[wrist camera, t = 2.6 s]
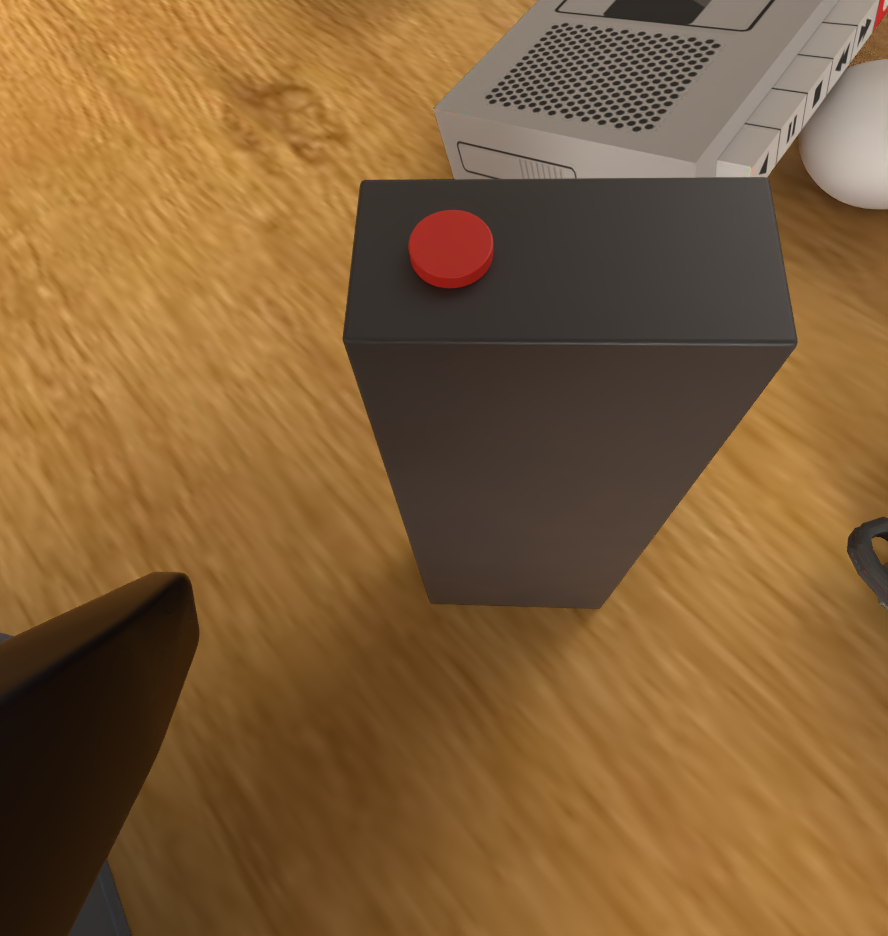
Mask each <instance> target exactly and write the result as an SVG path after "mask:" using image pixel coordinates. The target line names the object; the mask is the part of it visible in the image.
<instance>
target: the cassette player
mask: <svg viewBox="0 0 888 936" xmlns="http://www.w3.org/2000/svg"><path fill="white" fill-rule="evenodd" d="M887 12H888V0H538V2H537V3H536V4H535V5H534V6H533V7H532V8H531V9H530V10H529V11H528V12H527V13H526V14H525V15H524V16H523V17H522V18H521V19H520V20H519V21H518V22H517V23H516V24H515V25H514V26H513V27H512V28H511V29H510V30H509V31H508V32H507V33H506V34H505V35H504V36H503V37H502V38H501V39H500V41H499V42H498V43H497V44H496V45H495V46H494V47H493V48H492V49H491V50H490V51H489V52H488V53H487V54H486V55H485V56H484V57H483V58H482V59H481V60H480V61H479V62H478V63H477V64H476V65H475V66H474V67H473V68H472V69H471V70H470V71H469V72H468V73H467V74H466V75H465V76H464V77H463V78H462V80H461V81H460V82H459V83H458V84H457V85H456V86H455V87H454V88H453V89H452V90H451V91H450V92H449V93H448V94H447V95H446V96H445V97H444V98H443V99H442V100H441V101H440V102H439V103H438V104H437V105H436V106H435V107H434V108H433V110H434V113H435V116H436V120H437V123H438V126H439V130H440V133H441V136H442V140H443V143H444V146H445V150H446V153H447V156H448V160H449V163H450V167H451V170H452V173H453V177H454V179H567V178H701V177H766V178H767V177H768V175H769V174H770V173H771V171H772V170H773V168H774V167H775V166H776V164H777V163H778V162H779V160H780V159H781V157H782V156H783V155H784V153H785V152H786V151H787V149H788V148H789V146H790V145H791V144H792V142H793V141H794V140H795V138H796V137H797V135H798V134H799V133H800V131H801V130H802V129H803V127H804V126H805V124H806V123H807V122H808V120H809V119H810V118H811V116H812V115H813V113H814V112H815V111H816V109H817V108H818V107H819V105H820V104H821V102H822V101H823V100H824V98H825V97H826V96H827V94H828V93H829V91H830V90H831V89H832V87H833V86H834V85H835V83H836V82H837V80H838V79H839V78H840V76H841V75H842V74H843V72H844V71H845V69H846V68H847V67H848V65H849V64H850V63H851V61H852V60H853V58H854V57H855V56H856V54H857V53H858V52H859V50H860V49H861V47H862V46H863V45H864V43H865V42H866V41H867V39H868V38H869V36H870V35H871V34H872V32H873V31H874V30H875V28H876V27H877V25H878V24H879V23H880V21H881V20H882V19H883V17H884V16H885V14H886V13H887Z"/></svg>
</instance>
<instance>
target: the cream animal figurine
mask: <svg viewBox="0 0 888 936" xmlns="http://www.w3.org/2000/svg"><path fill="white" fill-rule="evenodd" d="M798 147H799V152H800V156H801V159H802V162H803V164H804V166H805V169H806V170H807V172H808V173H809V175H810V176H811V178H812V179H813V180H814V181H815V182H816V184H817V185H818V186H819V187H820V188H821V189H822V190H824V191H825V192H826V193H827V194H829V195H830V196H832V197H833V198H835V199H837V200H839V201H841V202H843V203H846V204H848V205H851V206H855V207H860V208H866V209H888V59H881V60H874V61H869V62H864V63H860V64H857V65H854V66H851V67H848V68H846V69H845V71H844V72H843V74H842V75H841V76H840V78H839V79H838V80H837V82H836V83H835V85H834V86H833V87H832V89H831V90H830V91H829V93H828V94H827V96H826V97H825V98H824V100H823V101H822V102H821V104H820V105H819V107H818V108H817V109H816V111H815V112H814V113H813V115H812V116H811V118H810V119H809V120H808V122H807V123H806V124H805V126H804V127H803V129H802V130H801V131H800V133H799V134H798Z"/></svg>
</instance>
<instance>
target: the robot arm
mask: <svg viewBox="0 0 888 936" xmlns="http://www.w3.org/2000/svg"><path fill="white" fill-rule="evenodd" d="M198 641H199V624H198V618H197V613H196V607H195V601H194V595H193V589H192V584H191V581H190V579H189V577H188V576H187V575H186V574H184V573H180V572H153V573H150V574H148V575H146V576H144V577H142V578H139V579H137V580H135V581H133V582H131V583H129V584H126V585H124V586H122V587H120V588H118V589H116V590H114V591H111V592H109V593H107V594H105V595H103V596H101V597H98V598H96V599H94V600H92V601H90V602H88V603H85V604H83V605H81V606H79V607H77V608H75V609H72V610H70V611H68V612H66V613H64V614H62V615H60V616H57V617H55V618H53V619H51V620H49V621H47V622H44V623H42V624H40V625H38V626H36V627H34V628H31V629H29V630H27V631H25V632H23V633H21V634H18V635H16V636H14V637H12V638H10V639H8V640H6V641H3V642H1V643H0V936H68V935H69V933H70V931H71V929H72V927H73V925H74V923H75V921H76V919H77V917H78V915H79V913H80V911H81V909H82V907H83V905H84V903H85V901H86V899H87V897H88V895H89V893H90V891H91V889H92V887H93V885H94V882H95V880H96V878H97V876H98V874H99V872H100V870H101V868H102V866H103V864H104V862H105V860H106V858H107V856H108V854H109V852H110V850H111V848H112V846H113V844H114V842H115V840H116V838H117V836H118V834H119V832H120V830H121V828H122V826H123V824H124V822H125V820H126V818H127V816H128V814H129V812H130V810H131V808H132V806H133V804H134V802H135V800H136V798H137V796H138V794H139V792H140V790H141V788H142V786H143V784H144V782H145V780H146V778H147V776H148V774H149V772H150V769H151V767H152V765H153V763H154V761H155V759H156V756H157V754H158V752H159V749H160V747H161V744H162V742H163V739H164V737H165V734H166V731H167V729H168V726H169V723H170V721H171V718H172V715H173V712H174V710H175V707H176V704H177V701H178V699H179V696H180V693H181V690H182V688H183V685H184V682H185V679H186V677H187V674H188V671H189V668H190V666H191V663H192V660H193V657H194V655H195V652H196V649H197V646H198Z"/></svg>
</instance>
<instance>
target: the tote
mask: <svg viewBox="0 0 888 936" xmlns="http://www.w3.org/2000/svg"><path fill="white" fill-rule="evenodd" d="M12 637H13V636H10V635H6V634H2V633H0V643H1V642H3V641H6V640H8V639H10V638H12ZM68 936H131V933H130V930H129V927H128V924H127V920H126V917H125V914H124V911H123V908H122V905H121V902H120V899H119V896H118V893H117V890H116V887H115V884H114V881H113V878H112V875H111V871H110V868H109V865H108V862H107V859H106V860H105V862H104V864H103V866H102V868H101V870H100V872H99V874H98V876H97V878H96V880H95V882H94V885H93V887H92V889H91V891H90V893H89V895H88V897H87V899H86V901H85V903H84V905H83V907H82V909H81V911H80V913H79V915H78V917H77V919H76V921H75V923H74V925H73V927H72V929H71V931H70V933H69V935H68Z"/></svg>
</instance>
